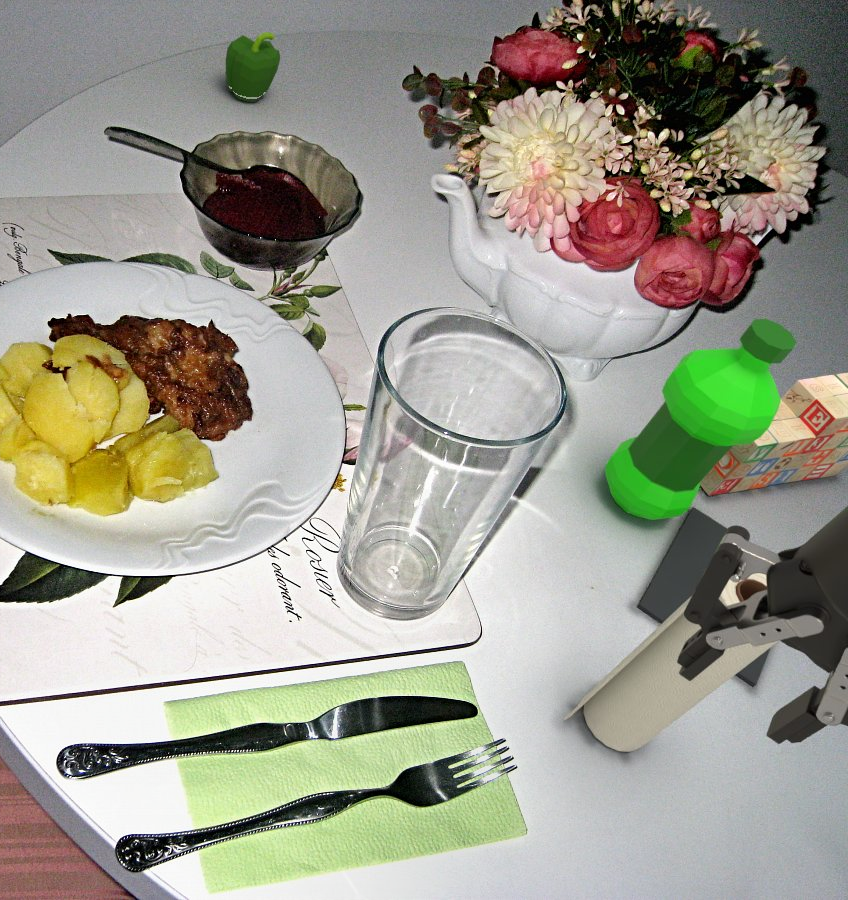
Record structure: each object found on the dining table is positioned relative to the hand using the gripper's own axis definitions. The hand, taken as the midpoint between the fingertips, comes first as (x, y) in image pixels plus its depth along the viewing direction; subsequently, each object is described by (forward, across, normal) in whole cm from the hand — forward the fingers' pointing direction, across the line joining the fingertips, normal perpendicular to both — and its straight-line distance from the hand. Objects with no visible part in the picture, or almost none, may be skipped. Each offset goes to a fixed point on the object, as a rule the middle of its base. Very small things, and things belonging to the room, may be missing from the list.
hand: (731, 698), depth 54 cm
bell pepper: (+26, -90, +74) cm, 119 cm away
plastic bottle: (+26, -8, +42) cm, 50 cm away
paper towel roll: (+26, 0, +14) cm, 29 cm away
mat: (+25, +4, +37) cm, 45 cm away
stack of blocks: (+26, +2, +60) cm, 65 cm away
